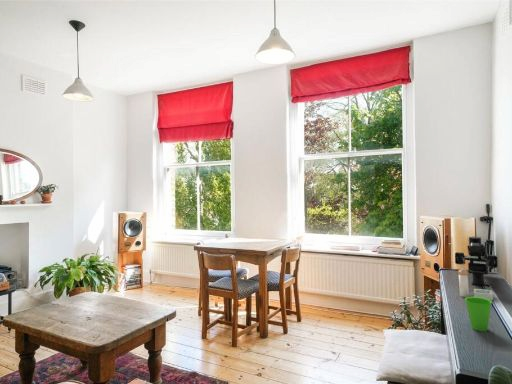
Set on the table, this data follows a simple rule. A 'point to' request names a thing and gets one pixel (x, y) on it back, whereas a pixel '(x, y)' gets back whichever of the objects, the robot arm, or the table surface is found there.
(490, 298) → the frame
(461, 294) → the cell
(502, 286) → the table surface
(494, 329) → the table surface
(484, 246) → the robot arm
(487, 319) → the cup
